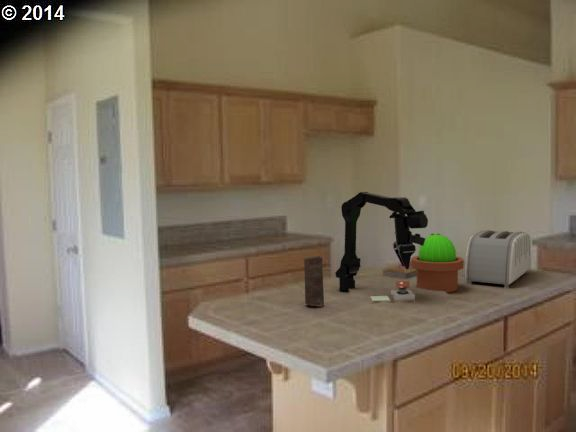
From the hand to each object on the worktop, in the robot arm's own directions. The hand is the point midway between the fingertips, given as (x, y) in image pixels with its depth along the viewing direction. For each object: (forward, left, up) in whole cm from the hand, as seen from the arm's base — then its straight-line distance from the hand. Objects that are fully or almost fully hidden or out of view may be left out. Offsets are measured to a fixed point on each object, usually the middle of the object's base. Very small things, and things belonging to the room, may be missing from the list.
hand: (405, 267), depth 215 cm
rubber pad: (-10, -1, -12) cm, 16 cm away
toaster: (+54, +43, -14) cm, 70 cm away
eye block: (-1, -1, -12) cm, 12 cm away
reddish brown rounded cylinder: (-1, -1, -12) cm, 12 cm away
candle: (-37, -4, -14) cm, 40 cm away
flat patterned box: (+15, +60, -15) cm, 64 cm away
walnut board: (-6, -1, -14) cm, 15 cm away
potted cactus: (+18, +22, -14) cm, 32 cm away
